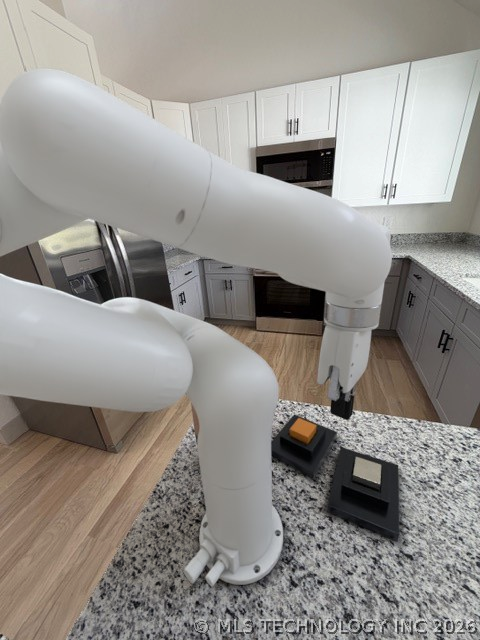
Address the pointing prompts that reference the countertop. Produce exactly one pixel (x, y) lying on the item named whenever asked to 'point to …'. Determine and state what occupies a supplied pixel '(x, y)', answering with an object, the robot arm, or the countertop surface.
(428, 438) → the countertop surface
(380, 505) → the front keypad
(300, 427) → the amber key
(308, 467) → the rear keypad
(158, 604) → the countertop surface
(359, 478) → the white key
